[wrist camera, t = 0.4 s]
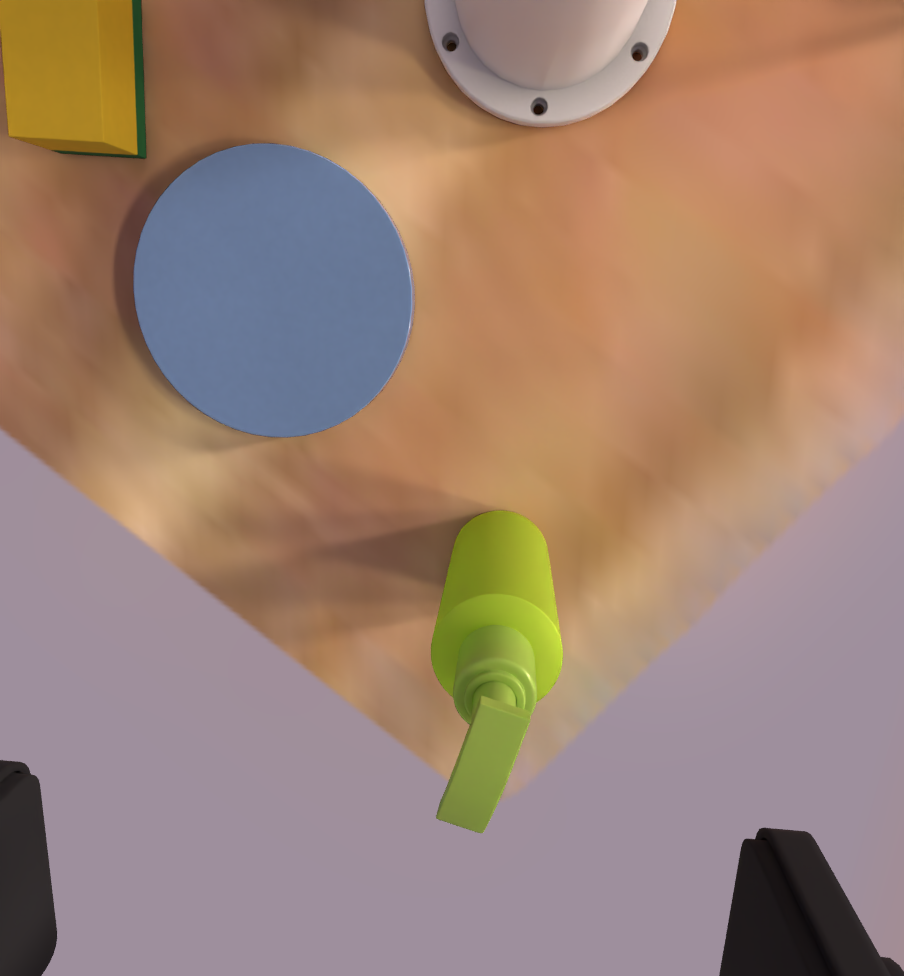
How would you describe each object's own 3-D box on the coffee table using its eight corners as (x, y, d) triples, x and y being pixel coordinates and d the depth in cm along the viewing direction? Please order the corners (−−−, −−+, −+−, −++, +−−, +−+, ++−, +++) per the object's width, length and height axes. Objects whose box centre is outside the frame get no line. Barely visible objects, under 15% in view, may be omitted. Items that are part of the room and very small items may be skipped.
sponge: (50, -8, 39) (-7, -46, 35) (141, -4, 39) (95, -42, 35) (60, 153, 41) (8, 136, 37) (146, 158, 41) (103, 142, 37)
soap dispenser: (435, 597, 46) (382, 810, 27) (469, 497, 45) (439, 650, 25) (523, 627, 46) (533, 861, 27) (561, 528, 45) (601, 703, 25)
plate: (137, 138, 41) (126, 134, 40) (423, 156, 40) (420, 152, 39) (148, 423, 45) (138, 426, 44) (407, 444, 44) (404, 448, 43)
